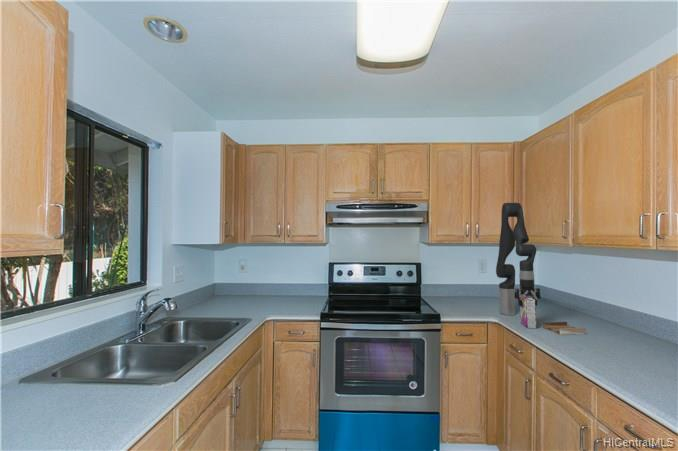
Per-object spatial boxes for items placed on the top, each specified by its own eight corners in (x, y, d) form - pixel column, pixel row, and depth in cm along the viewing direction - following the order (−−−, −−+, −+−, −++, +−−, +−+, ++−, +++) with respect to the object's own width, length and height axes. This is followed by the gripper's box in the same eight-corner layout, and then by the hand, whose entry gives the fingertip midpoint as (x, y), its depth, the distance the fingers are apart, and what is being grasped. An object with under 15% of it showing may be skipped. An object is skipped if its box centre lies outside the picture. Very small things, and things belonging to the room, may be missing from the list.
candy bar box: (520, 323, 195) (519, 295, 195) (529, 323, 194) (528, 296, 194) (527, 328, 184) (526, 299, 184) (536, 329, 183) (535, 299, 183)
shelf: (543, 327, 185) (542, 322, 185) (566, 326, 186) (566, 321, 186) (560, 335, 171) (560, 328, 171) (585, 334, 172) (585, 328, 172)
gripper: (534, 277, 194) (535, 304, 193) (511, 277, 193) (512, 305, 192) (542, 278, 186) (543, 307, 185) (519, 279, 185) (520, 307, 185)
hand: (527, 306), depth 189 cm, fingers open, 8 cm apart
